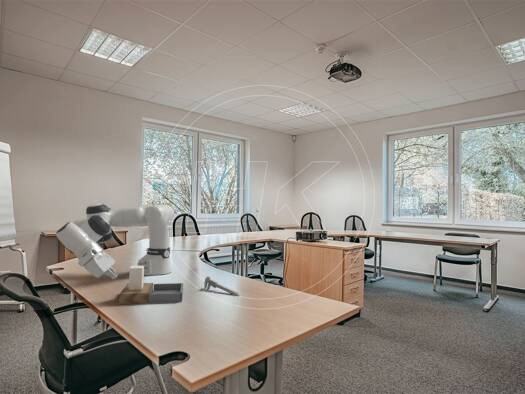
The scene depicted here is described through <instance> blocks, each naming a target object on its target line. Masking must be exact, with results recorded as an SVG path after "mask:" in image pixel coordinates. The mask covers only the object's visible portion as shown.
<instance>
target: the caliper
mask: <svg viewBox="0 0 525 394" xmlns="http://www.w3.org/2000/svg"><path fill="white" fill-rule="evenodd" d="M203 287H204V289H207V290H209V289H210V288H211V287H212V288H214V289H216V288H218V289H219V290H220V289H221V291H225V292H227V293H228V294H230V295H233V296H238V297H239V296H241V294H239V293H238V292H237V291H235V290H233V289H231V288H229V287H226V286H224V285H222V284H220V283H218V282H217V281H215V280H213V279H211V276H209V275H207V276H206V277H205V279H204V286H203Z"/></svg>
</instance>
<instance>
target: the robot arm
mask: <svg viewBox="0 0 525 394" xmlns="http://www.w3.org/2000/svg"><path fill="white" fill-rule="evenodd" d="M111 210H112V208H110V207H108V206H107V205H106V204H104V203H98V202H97V203H93V204H90V205H88V206H87V207H86V209H85V214H86V218H79V219H77V220H74V222H72V221H69V222H66V223H65V224H64V225H63V226H61V227H60V228H59V229H58V230H57V231H56V232H55V235H56V237H57V239H58V241H60V243H61V244H62V245H63V246H64V248H65V249H66V250H67V251H68V252H69V253H71V254H73V255H75V257H76V259H78V262H77V264H78V265H79V266H80V267H84V269H85V270H86V271H87V272H89V273H90V274H91V275H92V276H93V277H95V278H97V279H99V278H100V277H102V276H103V274H104V275H106V276H108V277H110V279H112V280H115V279H117V277H118V276H119V275H118V273H116V270H115V269H114V268H113V266H114V265H116V263H117V262H116V260H115V259H114V258H113V257H111V255H110V254H108V253H107V252H105V251H104V249H103V248H102V246H100V245H99V244H104V243H106V242H108V241H110V240H111V239H112V238H113V232H112V227H113V228H131V227H132V228H133V227H140V226H147V229H148V234H149V239H148V240H149V242H148V245H149V246H148V248H146V249H145V251H146V254H145V255H143V256H142V257H141V258H140V259H138V262H137V265H136V266H144V276H152V275H153V276H159V275H160V276H161V275H166V274H170V273H172V267H171V259H170V258H171V257H170V254H171V247H170V241H171V240H170V238H171V237H170V236H171V235H170V232H169V228H168V223H169V222H170V221H172V219H173V218H175V217H174V216H175V210H174V208H173V207H172V206H170V205H169V204H164V203H163V204H162V203H161V204H152V205H143V206H135V207H133V206H132V207H125V208H119V209H116V210H112V211H111Z"/></svg>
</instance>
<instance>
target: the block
mask: <svg viewBox="0 0 525 394" xmlns="http://www.w3.org/2000/svg"><path fill="white" fill-rule="evenodd" d="M128 279H129V280H128V284H129V290H142V288H143V283H145V282H144V279H145V275H144V266H137V265H131V266H130V267H129V277H128Z"/></svg>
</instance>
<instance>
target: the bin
mask: <svg viewBox="0 0 525 394" xmlns="http://www.w3.org/2000/svg"><path fill="white" fill-rule="evenodd" d="M183 294H184V282H180V283H179V282H177V283H176V282H174V283H173V282H172V283H171V282H169V283H153V293H152V294H149V302H148V304H153V303H154V304H155V303H156V304H157V303H159V304H160V303H179V302H183Z"/></svg>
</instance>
